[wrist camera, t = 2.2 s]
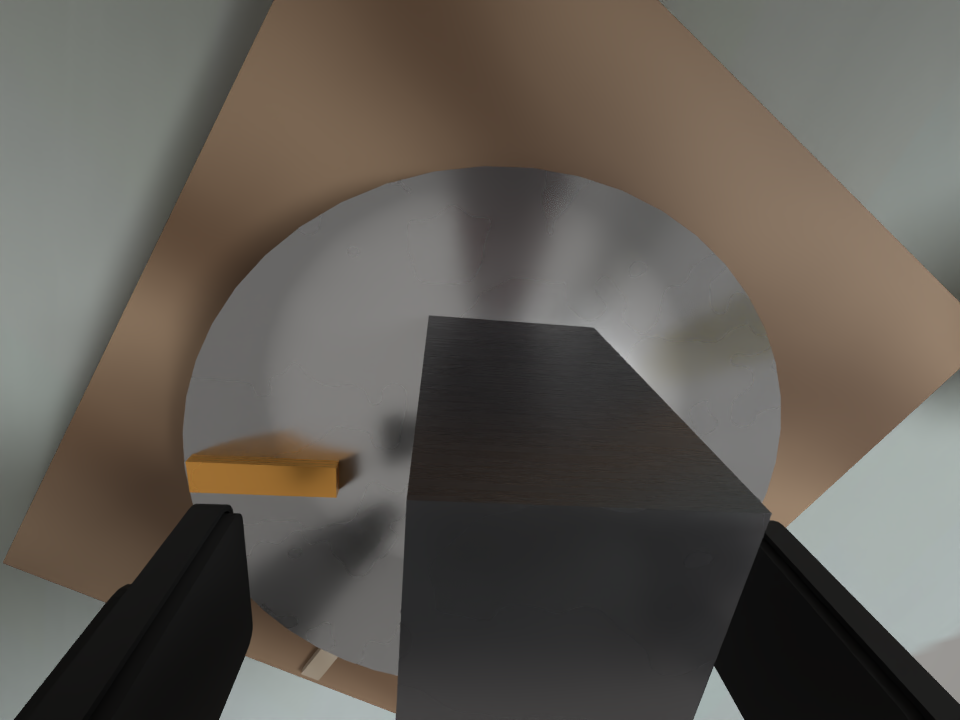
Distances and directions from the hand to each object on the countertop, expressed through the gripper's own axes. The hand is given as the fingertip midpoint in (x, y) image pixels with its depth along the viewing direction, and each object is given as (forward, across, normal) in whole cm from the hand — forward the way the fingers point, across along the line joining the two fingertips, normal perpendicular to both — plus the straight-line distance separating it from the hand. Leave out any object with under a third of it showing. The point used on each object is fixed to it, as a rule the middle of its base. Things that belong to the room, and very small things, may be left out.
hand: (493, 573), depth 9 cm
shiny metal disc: (+4, 0, 0) cm, 4 cm away
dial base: (+5, 0, 0) cm, 5 cm away
